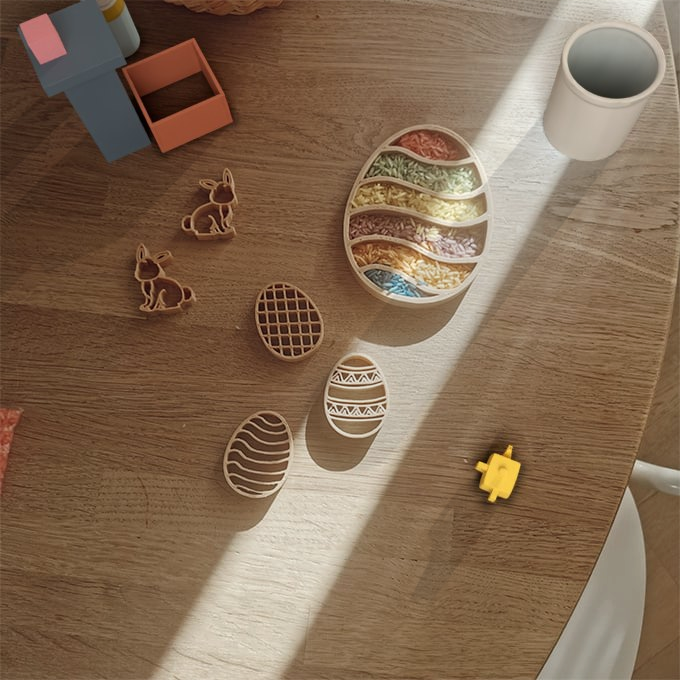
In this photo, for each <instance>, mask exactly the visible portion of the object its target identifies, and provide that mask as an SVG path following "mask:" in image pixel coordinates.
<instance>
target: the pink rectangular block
mask: <svg viewBox="0 0 680 680" xmlns="http://www.w3.org/2000/svg"><path fill="white" fill-rule="evenodd" d="M48 15H49V14H47V13H43V14H40V15H38V16H35V17H33V18H31V19H29V20H25V21H24V22H22V23H19V27H21V30H22V32H23V34H24V37H25V39H26V41H27V44H28V46H29V47H30V49H31V50H32V52H33V53H34V55H35V57H36V58H37V60H38V61H39V63H40V64H44V63H46V62H48V61H51V60H53V59H56V58H58V57H60V56H63V55H65V54H67V52H66V50H65V48H64V46H63V44H62V41H61V39H60V37H59V35H58V33H57V31H56V29H55V28H54V26H53V24H52V22H51V21H50V19H49V17H48Z"/></svg>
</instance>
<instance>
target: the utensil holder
mask: <svg viewBox="0 0 680 680" xmlns="http://www.w3.org/2000/svg"><path fill="white" fill-rule="evenodd" d="M666 60H667V59H666V55H665V52H664V49H663V47H662V45H661V44H660V42H659V41H658V40H657V38H656V37H655V35H653V34H652V33H650V32H649V31H648V30H647V29H645V28H644V27H642V26H640V25H639V24H636V23H633V22H630V21H627V20H623V19H614V18H613V19H612V18H611V19H599V20H595V21H592V22H589V23H586V24H585V25H582V26H581V27H579V28H577V29H576V30H575V31H573V32H572V34H571V35H570V36H569V37H568V38H567V39H566V41H565V43H564V45H563V47H562V51H561V55H560V59H559V65H558V69H557V72H556V75H555V78H554V81H553V85H552V87H551V91H550V94H549V97H548V100H547V104H546V107H545V112H544V115H543V120H542V128H543V133H544V136H545V138H546V140H547V141H548V143H549V145H551V147H552V148H553V149H554V150H556V151H557V152H558V153H560V154H561V155H562V156H565V157H567V158H570V159H573V160H576V161H580V162H595V161H601V160H603V159H606V158H608V157H610V156H612V155H613V154H615V153H616V152H618V151H619V149H620V148H621V147H622V145H623V144H624V143H625V141H626V139H627V137H628V136H629V135H630V133H631V131H632V130H633V128H634V126H635V125H636V123H637V121H638V120H639V118H640V116H641V114H642V113H643V111H644V109H645V107H646V106H647V104H648V102H649V100H650V98H651V97H652V95H654V93H655V92H656V91H657V89H658V88H659V87H660V85H661V83H662V81H663V79H664V77H665V74H666V70H667V61H666Z"/></svg>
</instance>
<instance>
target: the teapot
mask: <svg viewBox="0 0 680 680" xmlns="http://www.w3.org/2000/svg"><path fill="white" fill-rule="evenodd" d="M513 447H514V446H512V445H510V444H509V445H508V446H507V448H506V449H505V451H504V452H503V454H502V455H501V454H498V453H495V452H494V453H492V454H491V455H490V456H489V458H488V460H487V461H486V463H485V462H482V461H478V462H477V463H476V464H475V468H474V469H475V470H477V471H478V472H480V473H482V474H481V478H480V480H479V485H478V486H479V489H481V490H483V491H486V492H488V493H489V495H488V497H487V501H489V502H491V503H495V501H496V500H497V497H500V498H502V499H506V500H507V499H508V498H509V497H510V495H511V493H512V491H513V489H514V487H515V485H516V482H517V478H518V476H519V472H520V468H521V462H519V461H517V460H513V459H512V453H513Z"/></svg>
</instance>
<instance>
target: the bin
mask: <svg viewBox="0 0 680 680" xmlns="http://www.w3.org/2000/svg"><path fill="white" fill-rule="evenodd" d="M121 71H122V73H123V75H124V77H125V79H126V81H127V83H128V86H129V88H130V90H131V91H132V94H133V95H134V96H133V97H134V98H135V100H136V102H137V104H138V106H139V108H140V110H141V112H142V115H143V116H144V118H145V120H146V122H147V124H148V126H149V128H150V131H151V133H152V134H153V137H154V139H155V141H156V143H157V145H158V147H159V149H160V151H161V153H162V154H165V153H166V152H169V151H171V150H173V149H175V148H177V147H180V146H182V145H185V144H187V143H188V142H191V141H193V140H196V139H198V138H201V137H202V136H205V135H208V134H209V133H211V132H214V131H216V130H218V129H221V128H223V127H224V126H225V127H226V126H228V125H230V124H231V123H232V124H233V122H234V120H233V117H232V114H231V110H230V107H229V103H228V101H227V98H226V94H225V93H224V91H223V88H222V86H221V85H220V83H219V82H218V79H217V78H216V76H215V74H214V72H213V71H212V68H211V66H210V65H209V62H208V61H207V60H206V57H205V56H204V54H203V52H202V50H201V48H200V46H199V45H198V43H197V41H196V39H195V38H194V37H192V38H190V39H188V40H185V41H183V42H181V43H178V44H176V45H173V46H171V47H169V48H167V49H164V50H162V51H159V52H158V53H154V54H153V55H150V56H148V57H146V58H143V59H141V60H138V61H136V62H134V63H131V64H129V65H127V66H125V67H121ZM199 72H202V74H203V75H204V77H205V80H206V81H207V83H208V85H209V87H210V88H211V90H212V93H213V95H214V96H212V97H209V98H206V99H205V100H202V101H199V102H198V103H196V104H193V105H191V106H189V107H187V108H184V109H182V110H180V111H178V112H175V113H173V114H171V115H168V116H166V117H164V118H161V119H159V120H157V121H154V122H153V121H152V119H151V117H150V116H149V114H148V112H147V110H146V108H145V106H144V103H143V101H142V99H141V98H142V97H144V96H146V95H148V94H151V93H153V92H156V91H158V90H160V89H163V88H165V87H167V86H169V85H172V84H175V83H177V82H178V81H182V80H183V79H185V78H186V79H187V78H188V77H190V76H193V75H194V74H197V73H199Z"/></svg>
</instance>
